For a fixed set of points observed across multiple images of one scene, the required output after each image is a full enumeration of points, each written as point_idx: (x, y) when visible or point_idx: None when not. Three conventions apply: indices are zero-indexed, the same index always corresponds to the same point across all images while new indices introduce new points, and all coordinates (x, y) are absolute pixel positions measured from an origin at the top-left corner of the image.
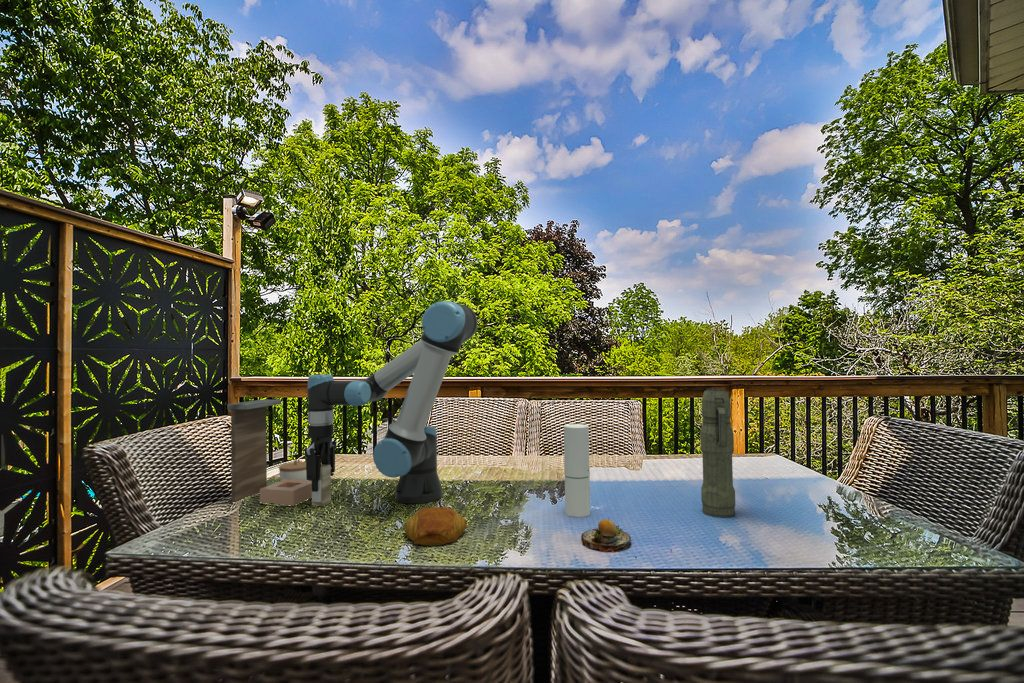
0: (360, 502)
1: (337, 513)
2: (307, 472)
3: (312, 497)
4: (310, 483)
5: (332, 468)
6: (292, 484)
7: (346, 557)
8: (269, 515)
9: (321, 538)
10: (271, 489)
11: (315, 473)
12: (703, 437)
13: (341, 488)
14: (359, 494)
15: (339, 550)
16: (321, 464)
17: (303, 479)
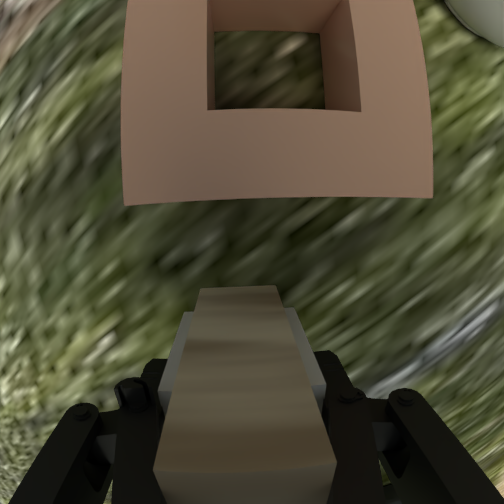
0: None
1: None
2: (47, 455)
3: (181, 324)
4: (362, 193)
5: (383, 464)
6: (348, 33)
7: (2, 497)
8: (27, 176)
9: (6, 456)
10: (130, 12)
11: (102, 490)
12: None
13: (500, 236)
14: (419, 378)
15: (5, 489)
16: (323, 485)
17: (493, 33)
